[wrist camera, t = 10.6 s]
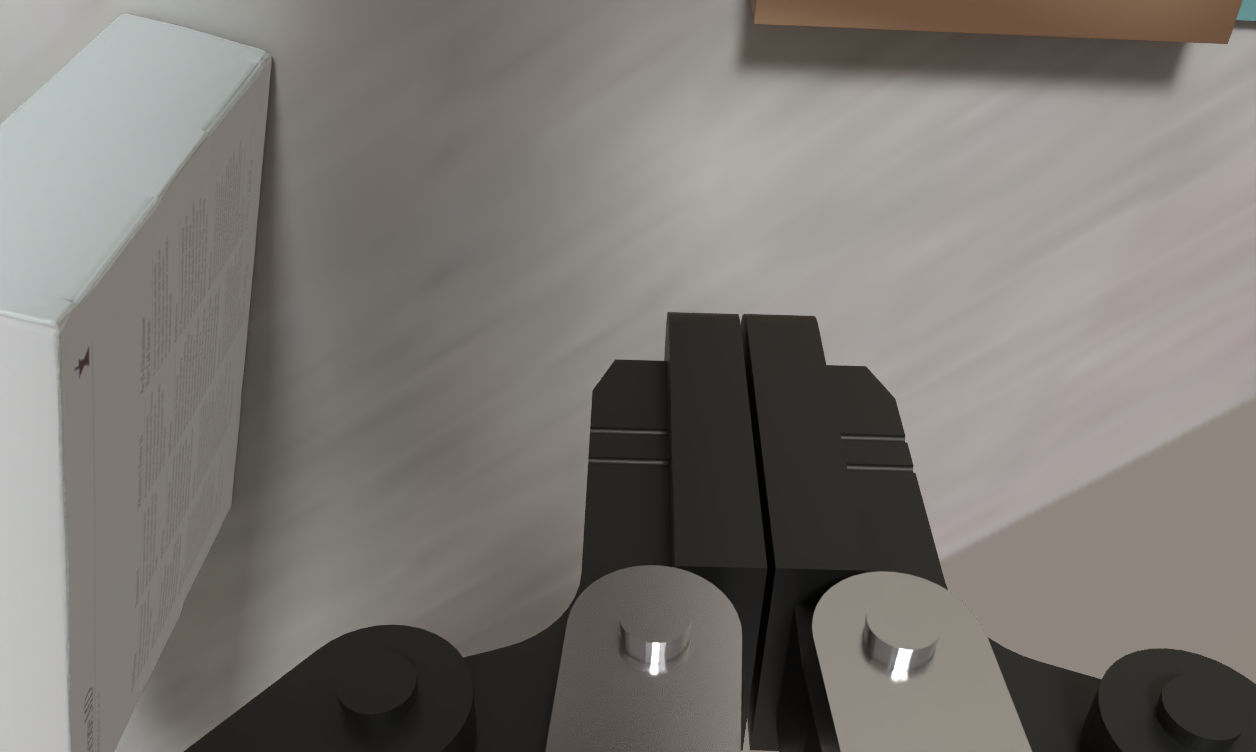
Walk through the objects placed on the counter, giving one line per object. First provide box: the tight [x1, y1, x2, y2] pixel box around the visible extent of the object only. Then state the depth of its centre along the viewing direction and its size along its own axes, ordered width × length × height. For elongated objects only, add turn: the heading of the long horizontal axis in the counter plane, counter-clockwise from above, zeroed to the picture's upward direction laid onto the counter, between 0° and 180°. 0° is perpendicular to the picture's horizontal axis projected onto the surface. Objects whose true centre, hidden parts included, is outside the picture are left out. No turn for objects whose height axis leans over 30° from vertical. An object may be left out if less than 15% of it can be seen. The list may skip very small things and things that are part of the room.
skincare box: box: [0, 14, 272, 752], centre depth 38 cm, size 21×5×16 cm, turn 165°
